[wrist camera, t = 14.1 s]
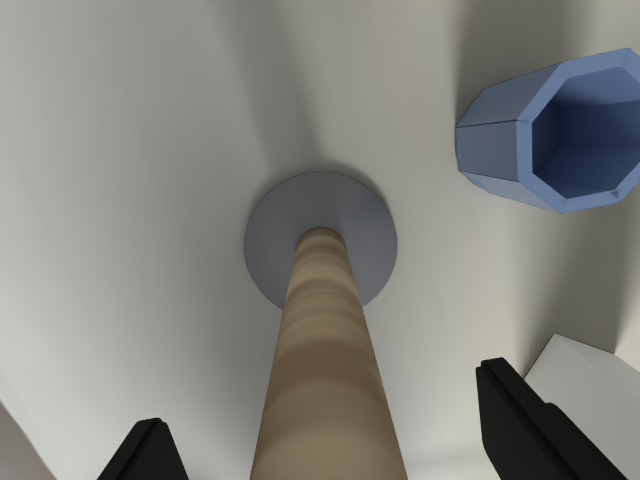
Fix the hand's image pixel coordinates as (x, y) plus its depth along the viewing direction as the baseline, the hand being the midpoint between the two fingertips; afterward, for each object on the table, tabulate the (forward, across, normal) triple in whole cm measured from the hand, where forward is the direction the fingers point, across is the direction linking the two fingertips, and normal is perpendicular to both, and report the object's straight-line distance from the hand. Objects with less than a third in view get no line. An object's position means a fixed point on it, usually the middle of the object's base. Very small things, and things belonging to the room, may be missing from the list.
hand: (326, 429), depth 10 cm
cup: (+15, -14, -6) cm, 22 cm away
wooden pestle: (+14, 0, -1) cm, 15 cm away
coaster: (+15, 0, -1) cm, 15 cm away
